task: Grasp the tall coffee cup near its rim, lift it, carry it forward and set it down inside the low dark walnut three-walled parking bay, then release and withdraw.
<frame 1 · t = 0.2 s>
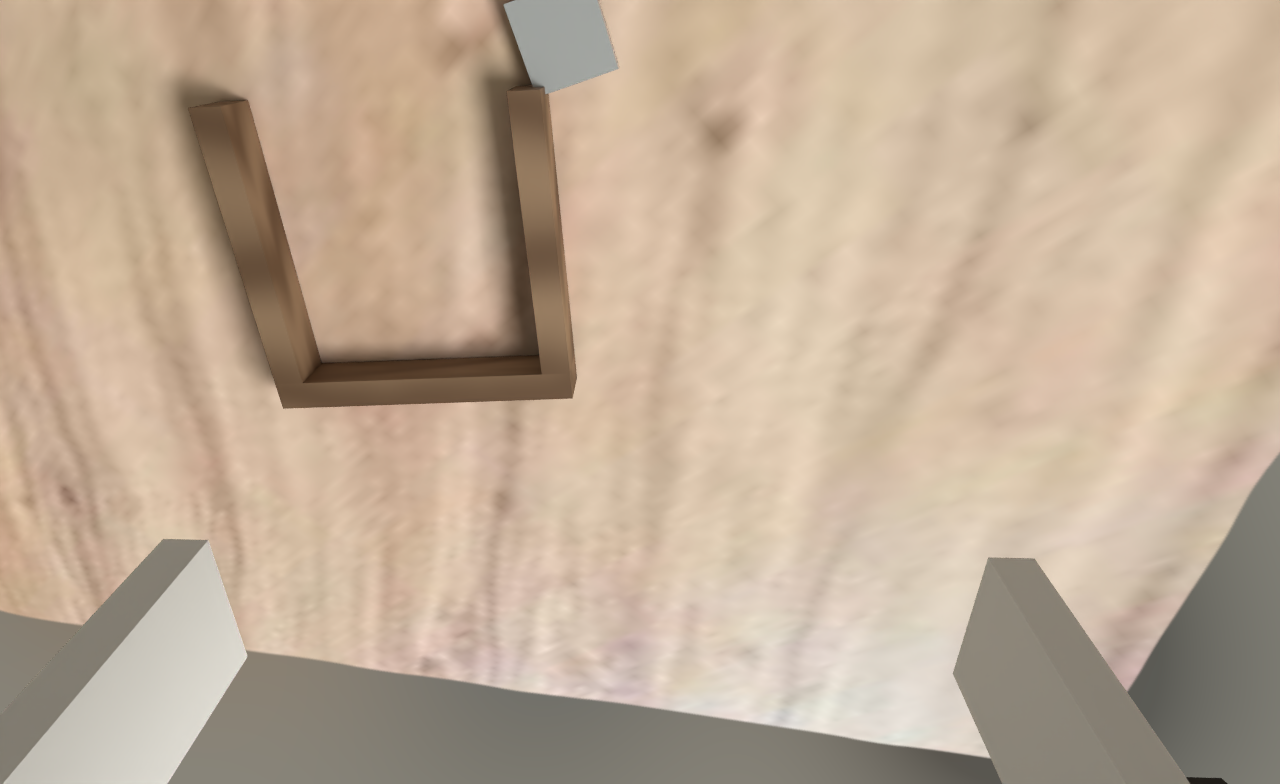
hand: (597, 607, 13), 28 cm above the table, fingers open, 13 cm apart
bay: (409, 237, 38), on the table
slate tile: (564, 36, 33), on the table
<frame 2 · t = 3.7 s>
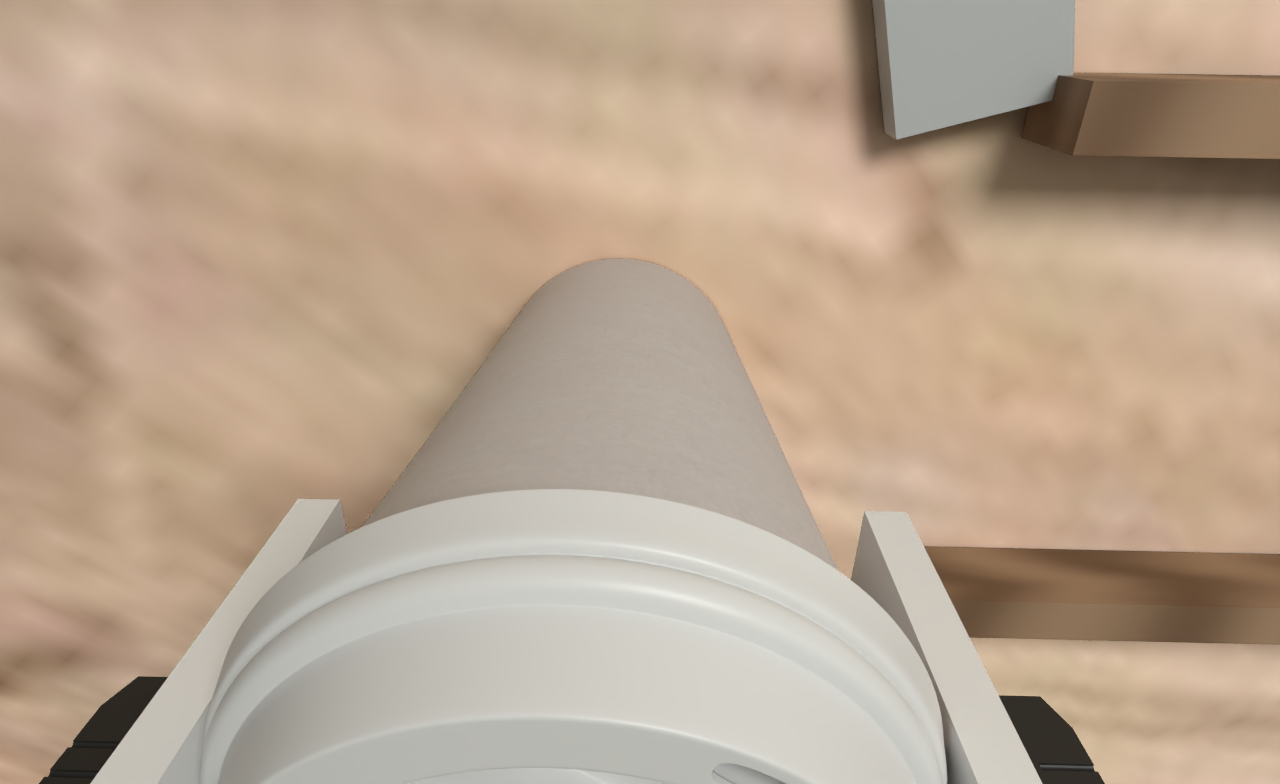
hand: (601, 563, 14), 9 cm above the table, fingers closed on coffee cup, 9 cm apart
bay: (1205, 376, 21), on the table
slate tile: (963, 23, 17), on the table
coffee cup: (621, 362, 21), on the table, touching gripper
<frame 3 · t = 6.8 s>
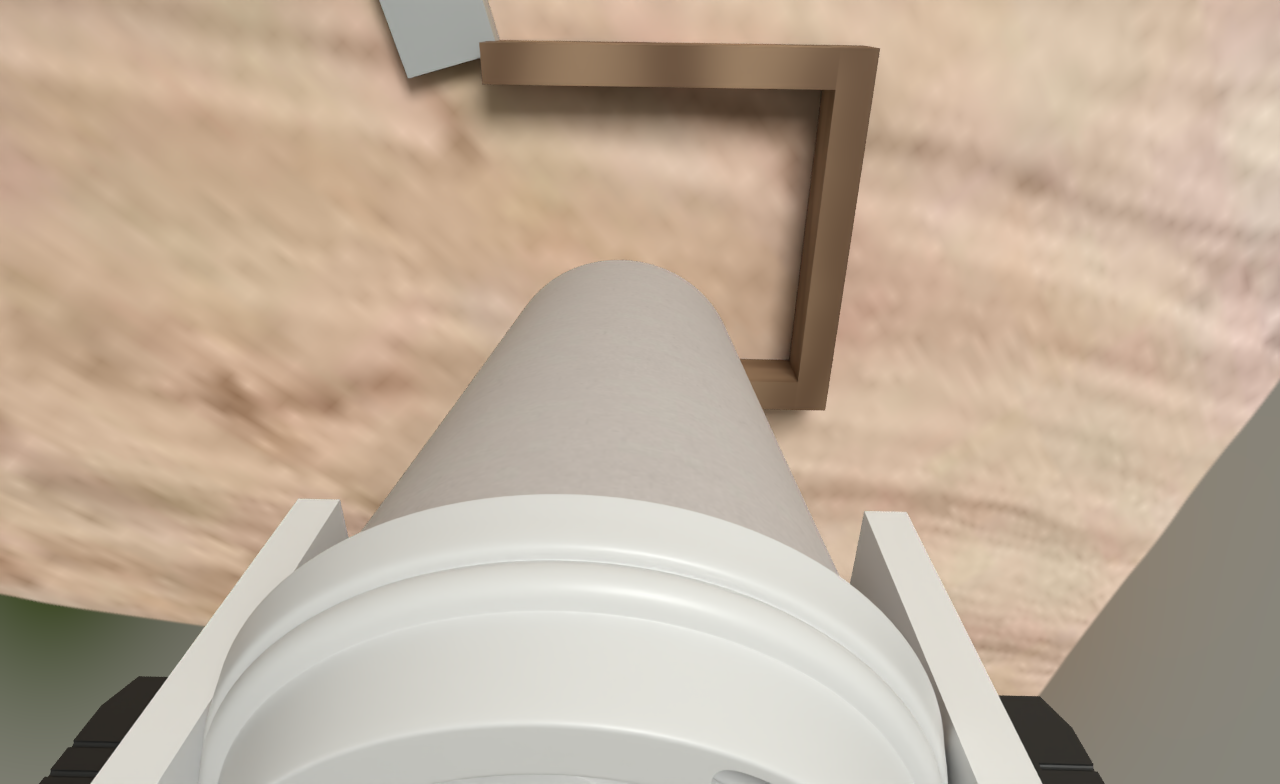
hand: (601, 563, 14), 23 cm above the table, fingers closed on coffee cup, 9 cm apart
bay: (654, 231, 34), on the table
slate tile: (441, 12, 30), on the table
coffee cup: (621, 363, 21), point 14 cm above the table, touching gripper
when the fingers open (10 cm above the table, at t = 10.0 s): coffee cup drops 1 cm, on the table.
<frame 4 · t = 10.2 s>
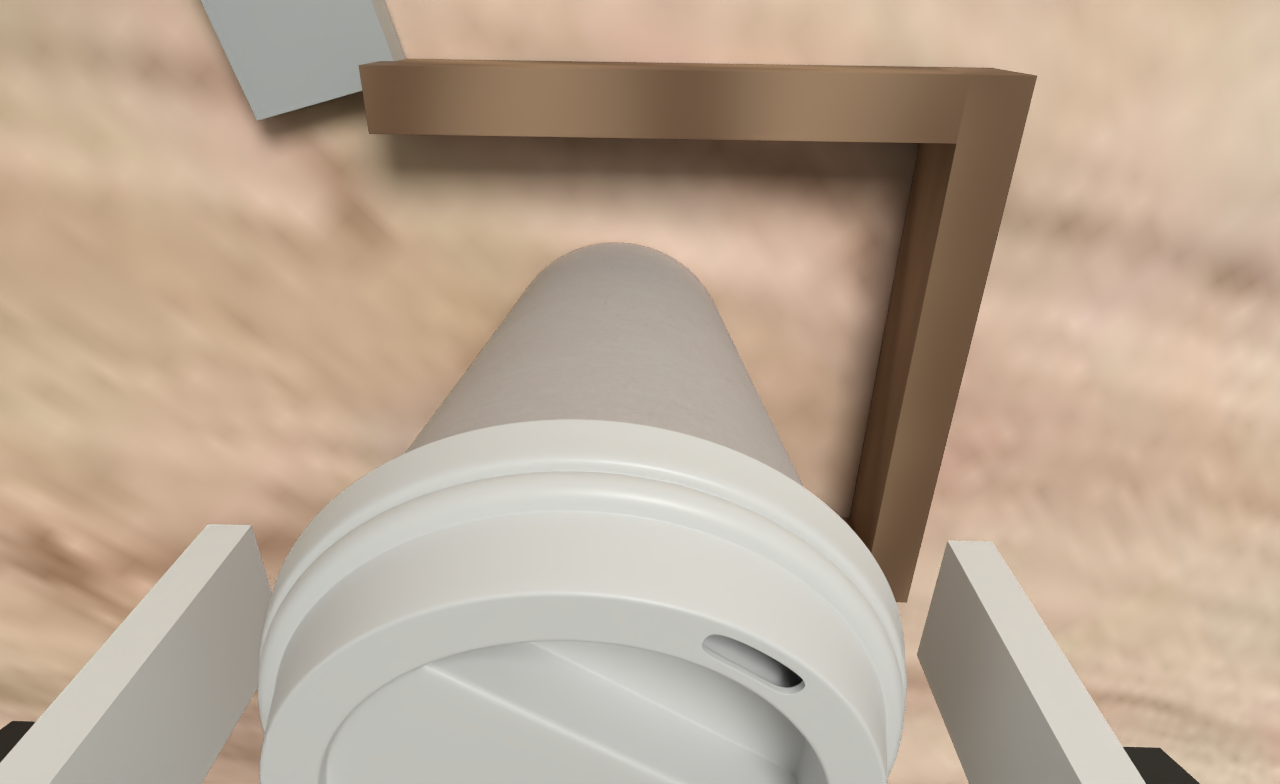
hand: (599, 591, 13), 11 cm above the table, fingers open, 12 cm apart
bay: (655, 345, 22), on the table
slate tile: (309, 14, 18), on the table
coffee cup: (617, 341, 23), on the table
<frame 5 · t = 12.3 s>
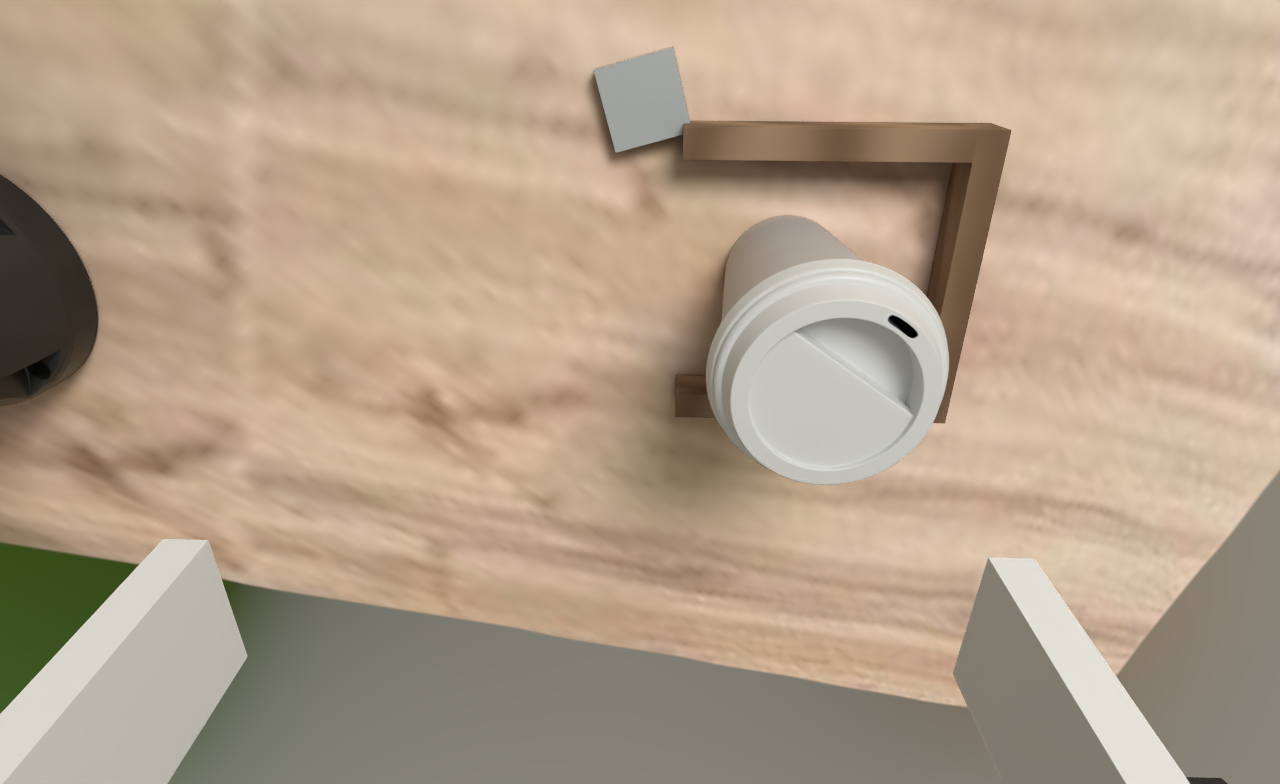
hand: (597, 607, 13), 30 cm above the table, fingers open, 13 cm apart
bay: (804, 273, 40), on the table
slate tile: (644, 99, 37), on the table
coffee cup: (782, 271, 41), on the table
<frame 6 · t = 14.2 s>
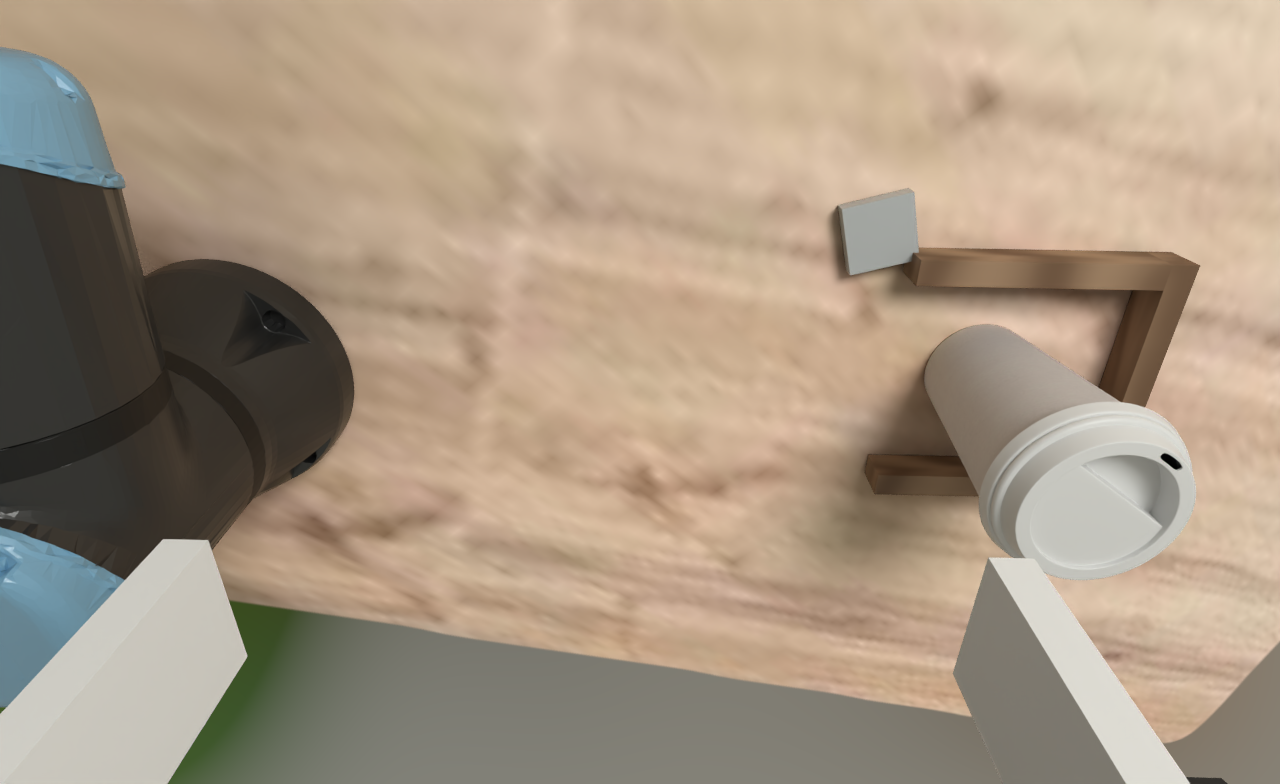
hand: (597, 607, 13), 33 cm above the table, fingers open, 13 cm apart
bay: (993, 371, 46), on the table
slate tile: (876, 230, 42), on the table
coffee cup: (974, 369, 47), on the table
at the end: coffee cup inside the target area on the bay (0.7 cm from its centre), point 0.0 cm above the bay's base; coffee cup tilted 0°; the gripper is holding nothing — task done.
